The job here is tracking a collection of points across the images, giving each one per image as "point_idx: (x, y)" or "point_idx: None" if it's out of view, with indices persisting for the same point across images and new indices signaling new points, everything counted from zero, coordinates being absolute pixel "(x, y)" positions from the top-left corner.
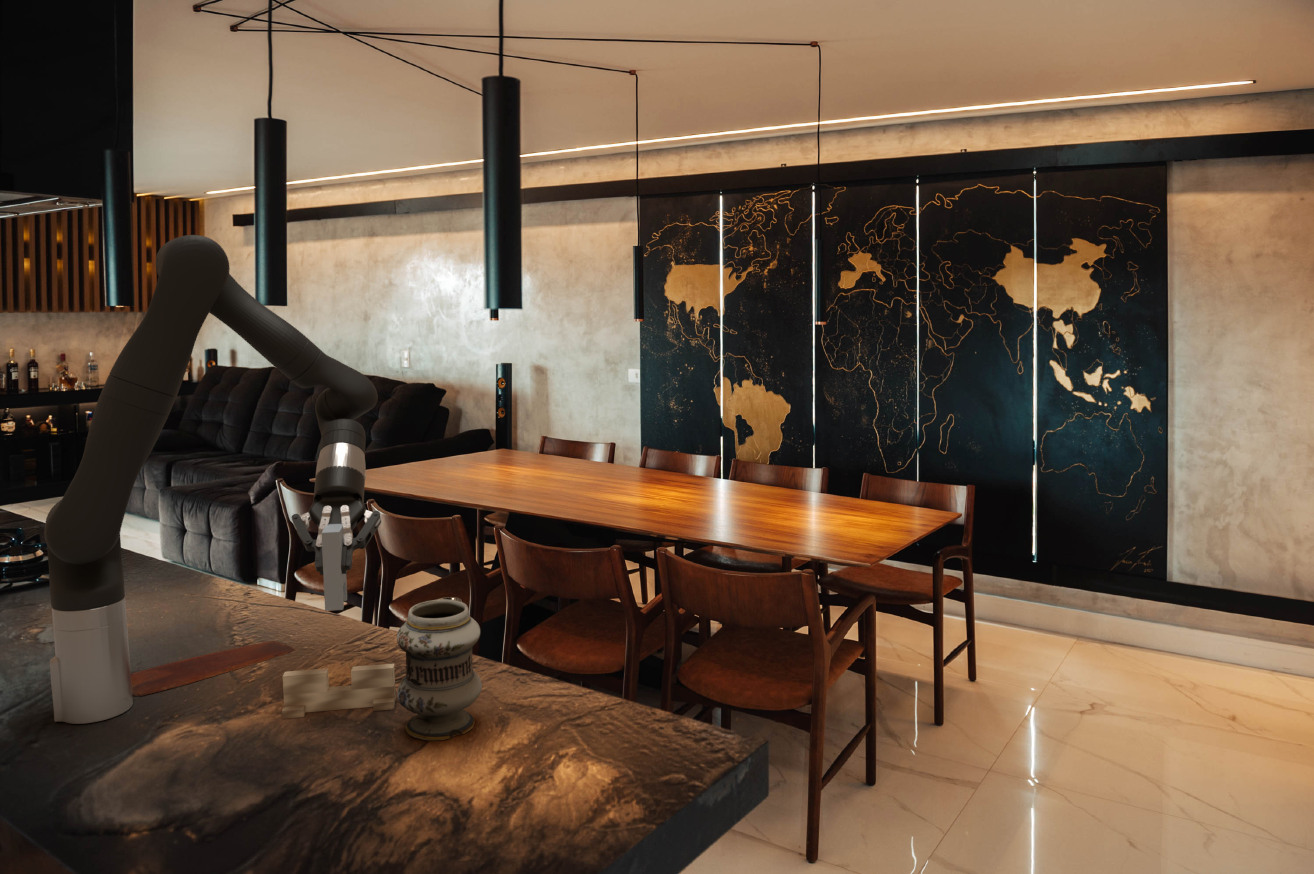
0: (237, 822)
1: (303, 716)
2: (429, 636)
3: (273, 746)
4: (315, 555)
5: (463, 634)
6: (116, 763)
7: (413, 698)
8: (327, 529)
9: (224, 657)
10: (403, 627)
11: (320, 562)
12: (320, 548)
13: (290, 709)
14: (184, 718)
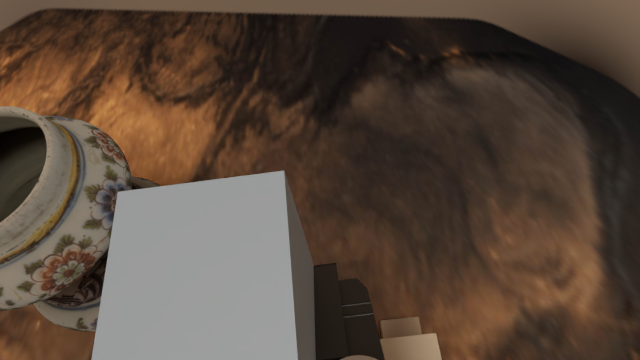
0: (360, 64)
1: (379, 322)
2: (46, 117)
3: (389, 218)
4: (377, 331)
5: None
6: (598, 187)
7: (154, 183)
8: (248, 309)
9: None
10: (95, 171)
11: (331, 281)
12: (347, 352)
13: (405, 322)
14: (609, 341)
